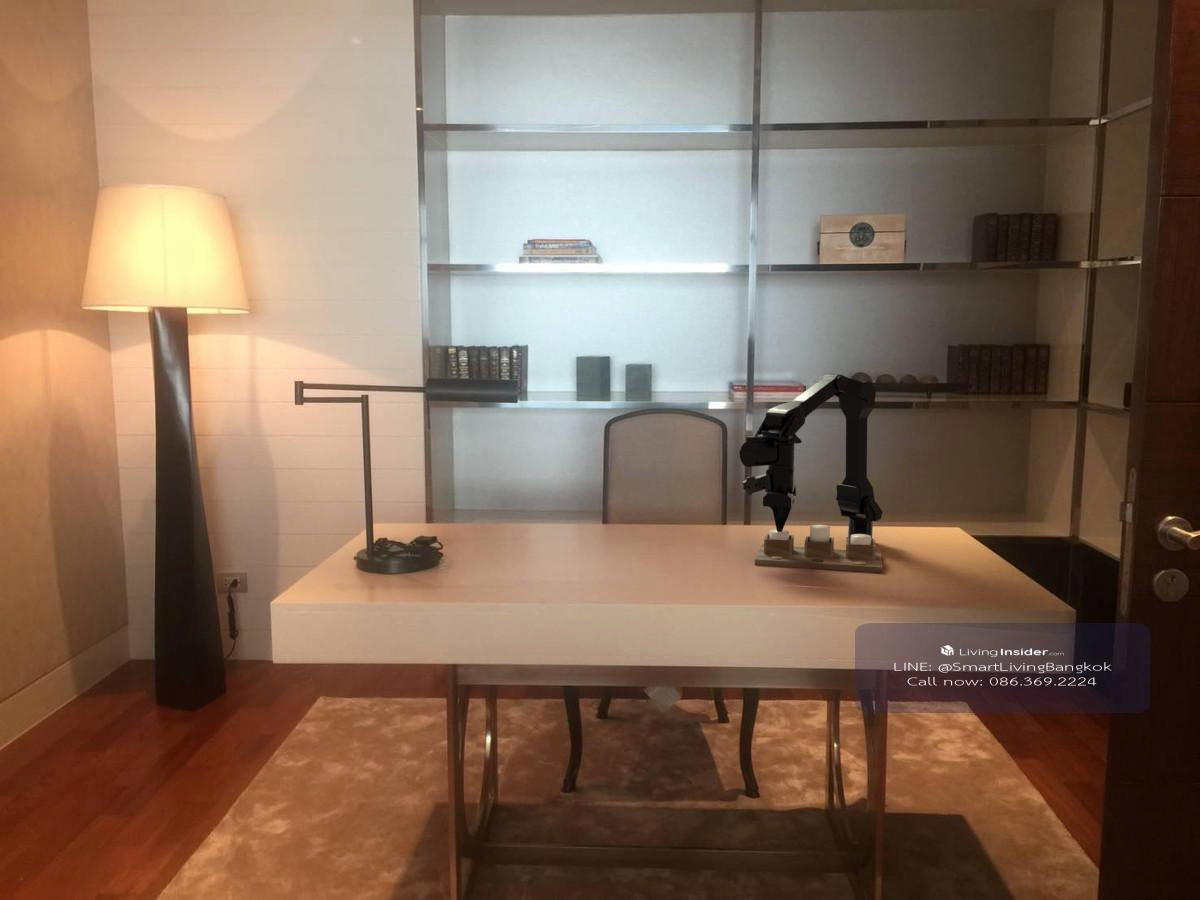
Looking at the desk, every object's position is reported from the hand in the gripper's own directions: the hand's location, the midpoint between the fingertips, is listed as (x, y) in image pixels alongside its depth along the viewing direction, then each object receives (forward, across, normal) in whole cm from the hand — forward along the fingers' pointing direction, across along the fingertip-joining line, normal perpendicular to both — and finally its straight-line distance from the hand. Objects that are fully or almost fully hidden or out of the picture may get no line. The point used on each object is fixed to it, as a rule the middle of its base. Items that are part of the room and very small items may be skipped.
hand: (779, 531), depth 215 cm
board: (+6, +2, +9) cm, 11 cm away
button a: (+4, 0, +18) cm, 18 cm away
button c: (+4, 0, 0) cm, 4 cm away
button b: (+2, 0, +9) cm, 9 cm away
